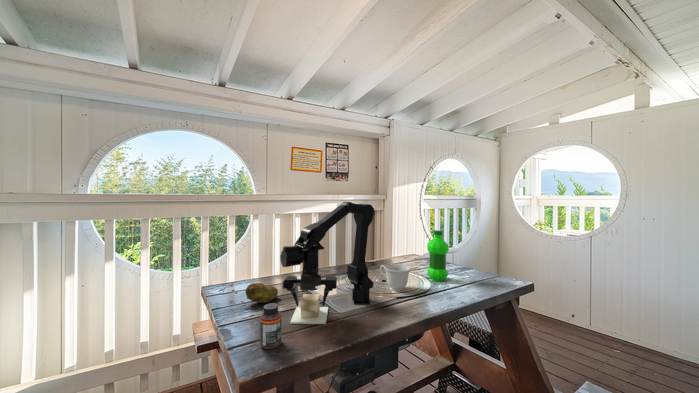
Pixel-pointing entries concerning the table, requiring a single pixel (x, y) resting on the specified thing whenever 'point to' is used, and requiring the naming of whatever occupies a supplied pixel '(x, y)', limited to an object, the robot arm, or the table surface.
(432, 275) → the plastic bottle
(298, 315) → the mat
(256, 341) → the table surface
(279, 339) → the supplement bottle
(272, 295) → the potato
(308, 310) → the cube
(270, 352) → the table surface
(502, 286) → the table surface
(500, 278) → the table surface
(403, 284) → the teacup
